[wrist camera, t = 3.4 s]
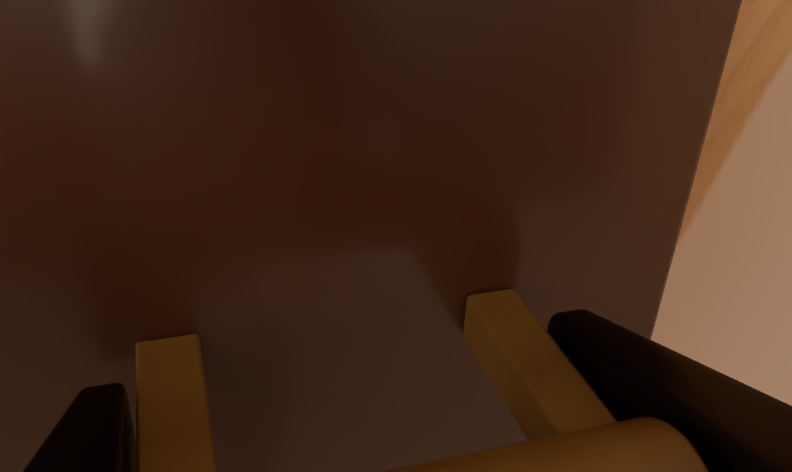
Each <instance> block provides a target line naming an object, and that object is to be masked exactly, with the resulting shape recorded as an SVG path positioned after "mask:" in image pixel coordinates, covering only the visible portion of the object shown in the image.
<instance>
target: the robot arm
mask: <svg viewBox="0 0 792 472" xmlns="http://www.w3.org/2000/svg"><path fill="white" fill-rule="evenodd" d="M547 331H548V333H549V334H550V335H551V336H552V338H553V339H554V340H555V342H556V343H557V344H558V345H559V347H560V348H561V349H562V351H563V352H564V353H565V354H566V356H567V357H568V358H569V359H570V361H571V362H572V363H573V365H574V366H575V367H576V368H577V370H578V371H579V372H580V374H581V375H582V376H583V377H584V379H585V380H586V381H587V383H588V384H589V385H590V386H591V388H592V389H593V390H594V391H595V393H596V394H597V395H598V397H599V398H600V399H601V400H602V402H603V403H604V404H605V406H606V407H607V408H608V409H609V411H610V412H611V413H612V414H613V416H614V417H615V418H616V420H617V421H618V422H619V421H624V420H628V419H633V418H638V417H643V416H648V417H654V418H657V419H661V420H663V421H665V422H668V423H669V424H671V425H672V426H674V427H675V428H676V429H677V430H679V431H680V432H681V433H682V434H683V435H684V436H685V437H686V438H687V439H688V440H689V441H690V443H691V444H692V445H693V446H694V448H695V449H696V450H697V452H698V453H699V455H700V456H701V458H702V459H703V461H704V463H705V465H706V466H707V468H708V470H709V472H792V406H790V405H788V404H786V403H784V402H782V401H779V400H777V399H775V398H773V397H771V396H769V395H767V394H765V393H762V392H760V391H758V390H756V389H754V388H752V387H750V386H747V385H745V384H743V383H741V382H739V381H737V380H735V379H733V378H730V377H728V376H726V375H724V374H722V373H720V372H718V371H716V370H713V369H711V368H709V367H707V366H705V365H703V364H700V363H699V362H696V361H694V360H692V359H690V358H688V357H686V356H683V355H681V354H679V353H677V352H675V351H673V350H671V349H669V348H667V347H664V346H662V345H660V344H658V343H656V342H654V341H652V340H650V339H647V338H645V337H643V336H641V335H639V334H637V333H635V332H633V331H630V330H628V329H626V328H624V327H622V326H620V325H618V324H616V323H613V322H611V321H609V320H607V319H605V318H603V317H601V316H598V315H596V314H594V313H592V312H590V311H588V310H584V309H577V310H570V311H564V312H558V313H556V314H554V315H553V316H552V317H551V319H550V320H549V324H548V328H547ZM23 472H137V452H136V439H135V433H134V428H133V422H132V417H131V411H130V406H129V401H128V395H127V391H126V388H125V386H124V385H123V384H122V383H120V382H116V383H110V384H104V385H97V386H91V387H87V388H84V389H83V390H81V391H80V392H79V393H78V395H77V396H76V398H75V399H74V400H73V402H72V403H71V405H70V406H69V407H68V409H67V410H66V412H65V413H64V414H63V416H62V417H61V419H60V420H59V421H58V423H57V424H56V426H55V427H54V428H53V430H52V431H51V433H50V434H49V435H48V437H47V438H46V440H45V441H44V443H43V444H42V445H41V447H40V448H39V450H38V451H37V452H36V454H35V455H34V457H33V458H32V459H31V461H30V462H29V464H28V465H27V466H26V468H25V469H24V471H23Z"/></svg>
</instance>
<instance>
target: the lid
mask: <svg viewBox="0 0 792 472" xmlns="http://www.w3.org/2000/svg"><path fill="white" fill-rule="evenodd" d="M741 1H742V0H0V472H23V471H24V469H25V468H26V466H27V465H28V464H29V462H30V461H31V459H32V458H33V457H34V455H35V454H36V452H37V451H38V450H39V448H40V447H41V445H42V444H43V443H44V441H45V440H46V438H47V437H48V435H49V434H50V433H51V431H52V430H53V428H54V427H55V426H56V424H57V423H58V421H59V420H60V419H61V417H62V416H63V414H64V413H65V412H66V410H67V409H68V407H69V406H70V405H71V403H72V402H73V400H74V399H75V398H76V396H77V395H78V393H79V392H80V391H81V390H83V389H84V388H87V387H91V386H97V385H104V384H110V383H116V382H120V383H122V384H123V385H124V386H125V388H126V391H127V395H128V401H129V406H130V411H131V417H132V422H133V428H134V433H135V439H136V452H137V472H709V470H708V468H707V466H706V465H705V463H704V461H703V459H702V458H701V456H700V455H699V453H698V452H697V450H696V449H695V448H694V446H693V445H692V444H691V443H690V441H689V440H688V439H687V438H686V437H685V436H684V435H683V434H682V433H681V432H680V431H679V430H677V429H676V428H675V427H674V426H672V425H671V424H669V423H668V422H665V421H663V420H661V419H657V418H654V417H648V416H643V417H638V418H633V419H628V420H624V421H619V422H618V421H617V420H616V418H615V417H614V416H613V414H612V413H611V412H610V411H609V409H608V408H607V407H606V406H605V404H604V403H603V402H602V400H601V399H600V398H599V397H598V395H597V394H596V393H595V391H594V390H593V389H592V388H591V386H590V385H589V384H588V383H587V381H586V380H585V379H584V377H583V376H582V375H581V374H580V372H579V371H578V370H577V368H576V367H575V366H574V365H573V363H572V362H571V361H570V359H569V358H568V357H567V356H566V354H565V353H564V352H563V351H562V349H561V348H560V347H559V345H558V344H557V343H556V342H555V340H554V339H553V338H552V336H551V335H550V334H549V333H548V331H547V328H548V324H549V320H550V319H551V317H552V316H553V315H554V314H556V313H558V312H564V311H570V310H577V309H584V310H588V311H590V312H592V313H594V314H596V315H598V316H601V317H603V318H605V319H607V320H609V321H611V322H613V323H616V324H618V325H620V326H622V327H624V328H626V329H628V330H630V331H633V332H635V333H637V334H639V335H641V336H643V337H645V338H647V339H650V340H651V336H652V332H653V329H654V325H655V321H656V317H657V313H658V310H659V306H660V303H661V299H662V295H663V291H664V288H665V284H666V280H667V276H668V272H669V269H670V265H671V262H672V258H673V254H674V250H675V247H676V243H677V239H678V236H679V232H680V228H681V224H682V221H683V217H684V213H685V209H686V206H687V202H688V198H689V195H690V191H691V187H692V183H693V180H694V176H695V172H696V168H697V165H698V161H699V157H700V154H701V150H702V146H703V142H704V139H705V135H706V131H707V128H708V124H709V120H710V116H711V113H712V109H713V105H714V101H715V98H716V94H717V90H718V87H719V83H720V79H721V75H722V72H723V68H724V64H725V61H726V57H727V53H728V49H729V46H730V42H731V38H732V34H733V31H734V27H735V23H736V20H737V16H738V12H739V8H740V5H741Z"/></svg>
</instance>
